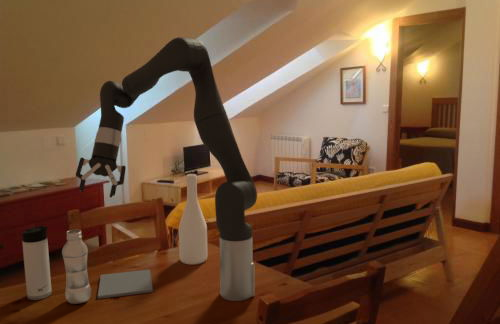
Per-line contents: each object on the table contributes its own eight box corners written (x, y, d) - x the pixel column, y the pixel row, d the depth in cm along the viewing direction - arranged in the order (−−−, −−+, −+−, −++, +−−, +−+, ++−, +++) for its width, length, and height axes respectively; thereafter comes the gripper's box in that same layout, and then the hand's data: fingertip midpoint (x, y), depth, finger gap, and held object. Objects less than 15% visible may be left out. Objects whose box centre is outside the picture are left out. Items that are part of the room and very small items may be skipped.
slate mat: (150, 271, 138) (149, 269, 138) (152, 292, 124) (152, 289, 124) (100, 277, 134) (100, 274, 134) (97, 298, 120) (97, 296, 120)
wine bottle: (190, 267, 141) (187, 178, 136) (174, 259, 148) (171, 174, 143) (212, 260, 147) (211, 174, 143) (196, 253, 154) (195, 171, 150)
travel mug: (46, 300, 119) (40, 231, 116) (22, 300, 119) (16, 231, 116) (56, 290, 125) (51, 224, 122) (34, 290, 125) (28, 224, 122)
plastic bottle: (80, 308, 114) (75, 236, 111) (60, 304, 116) (54, 233, 113) (96, 298, 120) (92, 229, 117) (77, 294, 122) (72, 227, 119)
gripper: (83, 137, 129) (72, 190, 126) (131, 147, 134) (121, 198, 131) (83, 141, 136) (72, 191, 133) (128, 150, 141) (118, 199, 138)
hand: (96, 194), depth 132 cm, fingers open, 8 cm apart
